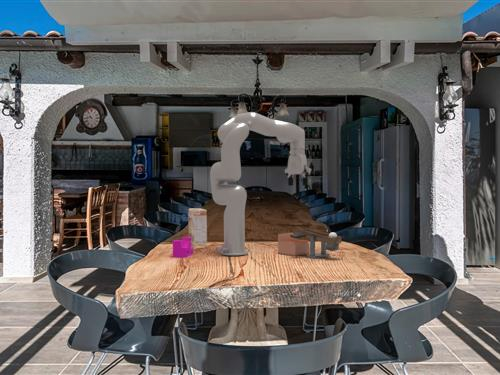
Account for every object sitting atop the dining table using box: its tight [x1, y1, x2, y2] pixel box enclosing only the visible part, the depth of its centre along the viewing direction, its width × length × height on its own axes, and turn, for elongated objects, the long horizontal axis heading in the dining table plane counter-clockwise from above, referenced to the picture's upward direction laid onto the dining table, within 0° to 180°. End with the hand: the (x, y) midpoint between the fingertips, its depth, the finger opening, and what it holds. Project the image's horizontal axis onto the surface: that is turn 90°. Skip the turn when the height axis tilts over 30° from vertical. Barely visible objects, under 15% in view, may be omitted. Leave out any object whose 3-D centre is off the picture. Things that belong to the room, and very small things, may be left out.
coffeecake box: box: [187, 207, 208, 247], centre depth 244 cm, size 15×7×20 cm, turn 17°
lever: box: [290, 227, 342, 252], centre depth 204 cm, size 13×20×6 cm, turn 44°
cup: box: [277, 232, 310, 257], centre depth 217 cm, size 10×10×9 cm
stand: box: [305, 236, 331, 260], centre depth 206 cm, size 10×5×10 cm, turn 134°
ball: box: [328, 231, 338, 238], centre depth 201 cm, size 4×4×4 cm
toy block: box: [172, 236, 194, 259], centre depth 215 cm, size 15×6×8 cm, turn 170°
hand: (297, 185), depth 247 cm, fingers open, 9 cm apart
